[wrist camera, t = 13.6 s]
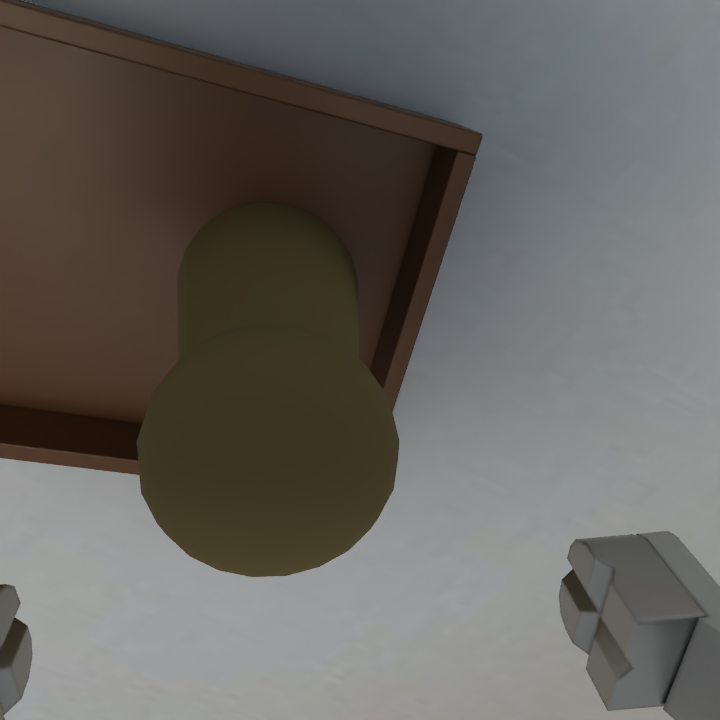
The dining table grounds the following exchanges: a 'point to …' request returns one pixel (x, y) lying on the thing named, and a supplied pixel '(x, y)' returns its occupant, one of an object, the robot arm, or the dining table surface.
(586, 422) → the dining table surface
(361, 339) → the tray
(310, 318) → the cork
